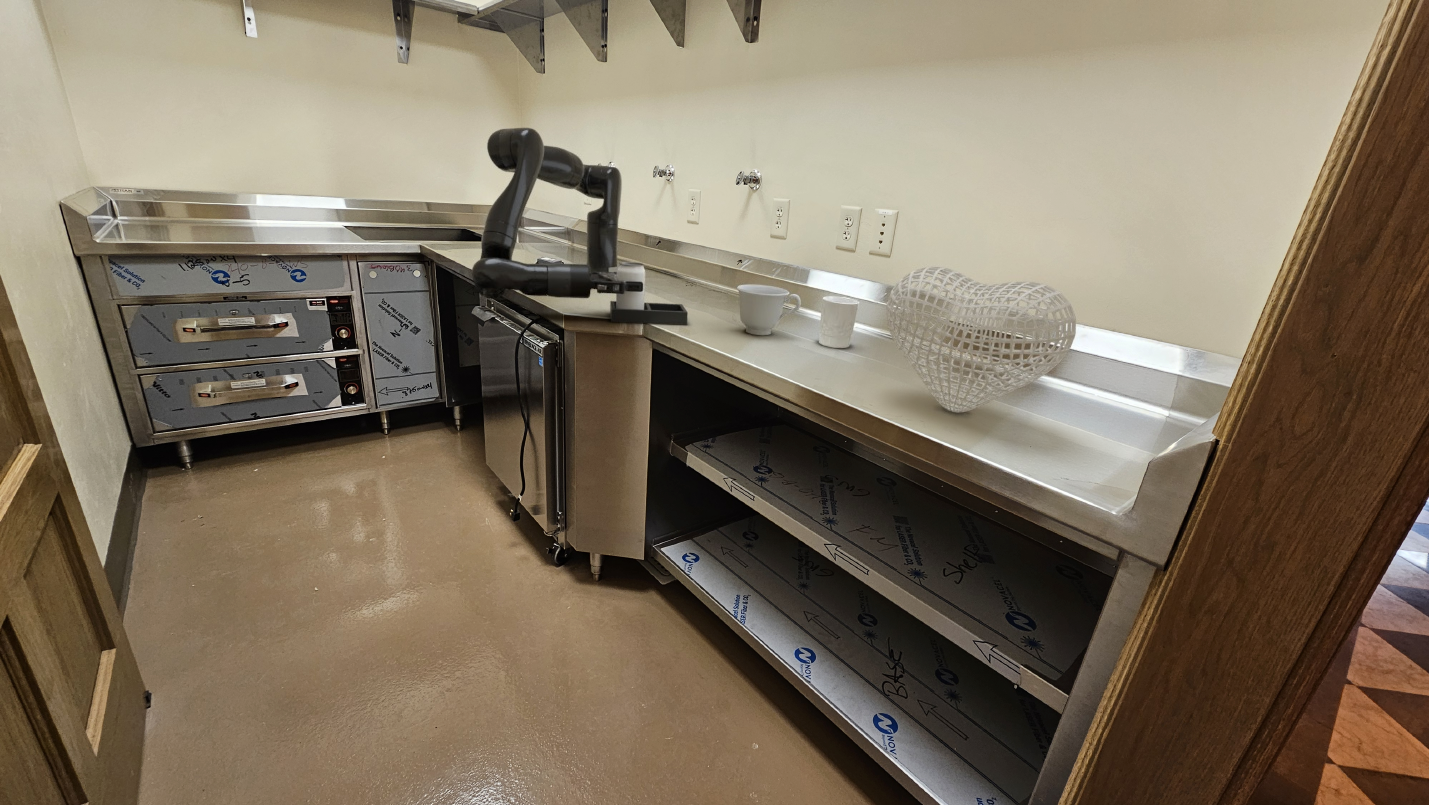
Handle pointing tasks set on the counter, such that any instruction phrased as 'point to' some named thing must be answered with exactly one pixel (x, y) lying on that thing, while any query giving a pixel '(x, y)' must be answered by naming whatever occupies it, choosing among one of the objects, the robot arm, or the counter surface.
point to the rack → (650, 314)
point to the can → (631, 273)
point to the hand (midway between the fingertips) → (639, 283)
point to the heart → (992, 289)
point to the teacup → (763, 307)
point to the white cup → (837, 321)
